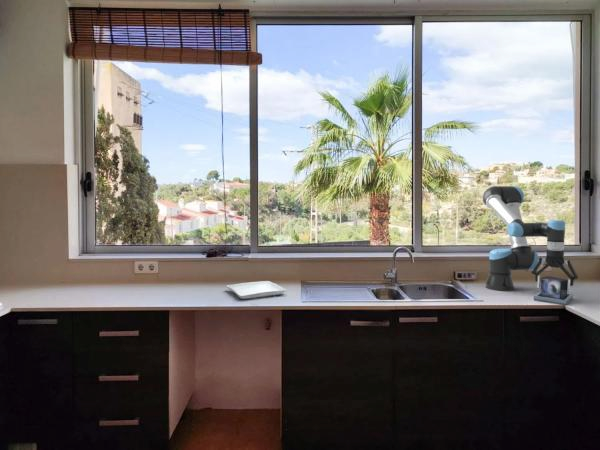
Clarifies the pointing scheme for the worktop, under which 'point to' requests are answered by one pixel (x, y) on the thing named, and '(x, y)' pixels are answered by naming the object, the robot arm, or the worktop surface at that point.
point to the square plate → (256, 289)
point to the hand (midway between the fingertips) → (553, 289)
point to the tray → (552, 300)
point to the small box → (554, 287)
